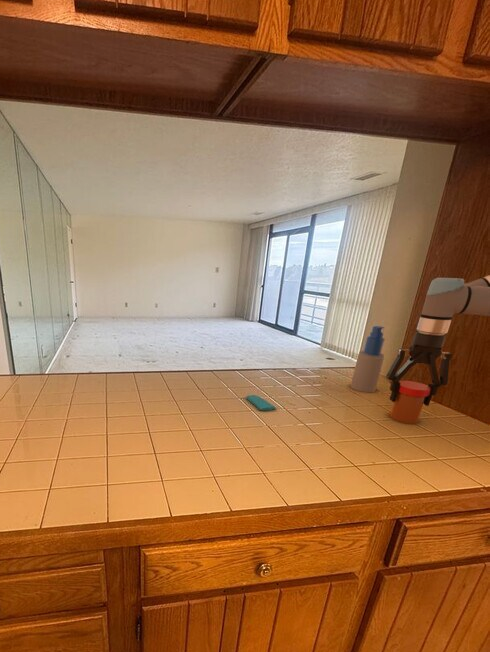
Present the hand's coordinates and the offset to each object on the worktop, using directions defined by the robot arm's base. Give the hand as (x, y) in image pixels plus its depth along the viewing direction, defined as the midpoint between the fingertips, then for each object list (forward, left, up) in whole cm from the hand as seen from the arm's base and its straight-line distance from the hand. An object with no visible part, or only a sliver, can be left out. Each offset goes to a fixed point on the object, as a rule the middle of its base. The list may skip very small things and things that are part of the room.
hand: (408, 402), depth 112 cm
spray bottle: (+26, -12, -6) cm, 29 cm away
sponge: (+26, +38, -6) cm, 46 cm away
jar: (0, 0, -6) cm, 6 cm away
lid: (0, 0, +5) cm, 5 cm away
